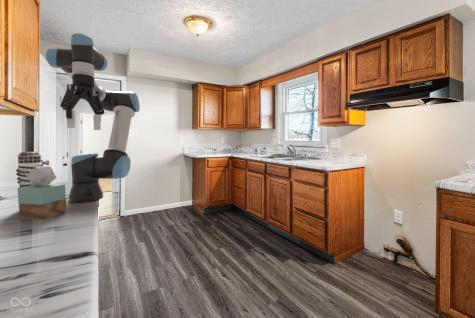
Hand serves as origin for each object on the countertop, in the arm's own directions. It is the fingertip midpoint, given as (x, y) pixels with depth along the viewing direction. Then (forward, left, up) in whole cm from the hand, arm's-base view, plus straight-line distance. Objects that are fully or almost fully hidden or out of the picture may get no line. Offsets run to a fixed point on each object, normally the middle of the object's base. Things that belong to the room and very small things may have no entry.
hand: (85, 128), depth 100 cm
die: (+4, -16, -23) cm, 28 cm away
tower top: (+5, -16, -29) cm, 33 cm away
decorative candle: (-2, -28, -35) cm, 44 cm away
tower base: (+5, -16, -35) cm, 38 cm away
